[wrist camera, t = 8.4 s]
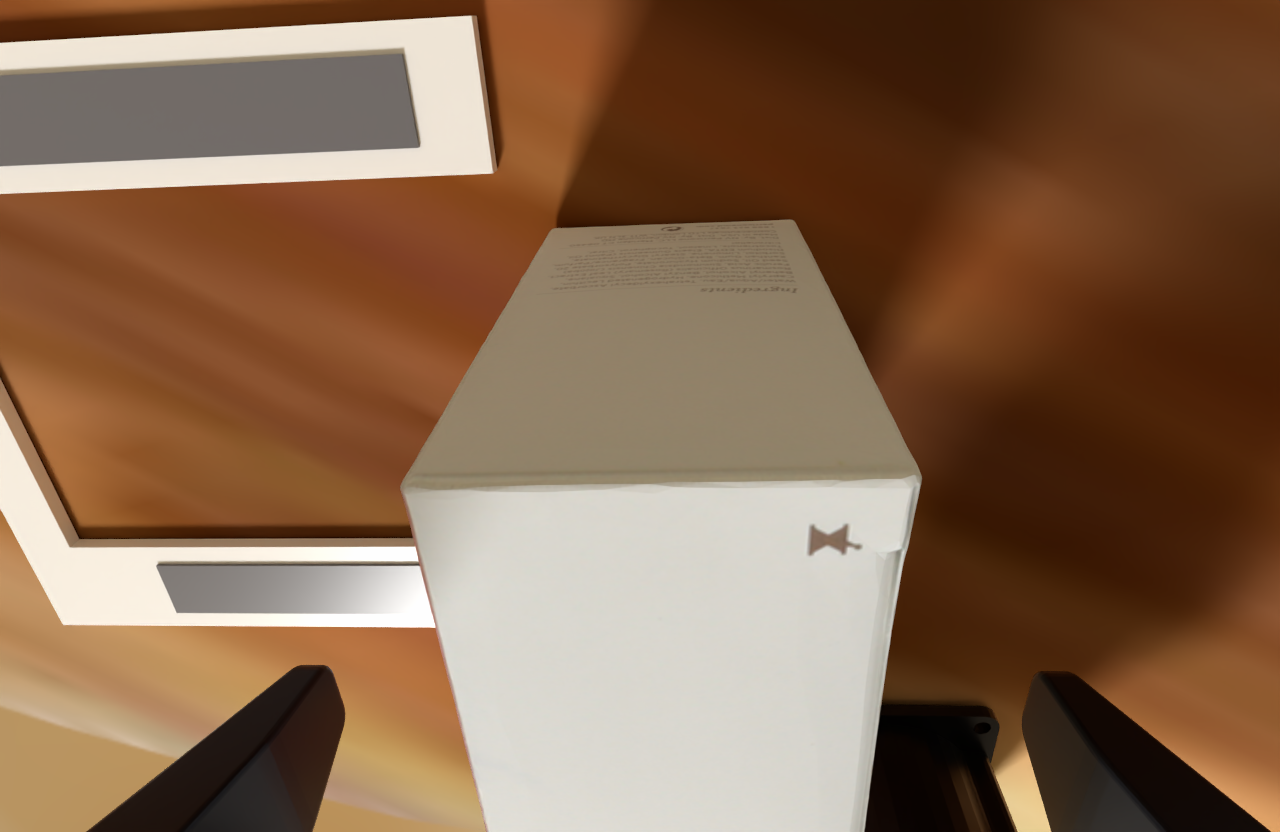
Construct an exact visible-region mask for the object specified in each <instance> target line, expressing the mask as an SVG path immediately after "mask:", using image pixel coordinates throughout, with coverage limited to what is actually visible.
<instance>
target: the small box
mask: <svg viewBox="0 0 1280 832" xmlns="http://www.w3.org/2000/svg"><path fill="white" fill-rule="evenodd" d="M921 481H922V476H921V473H920V471H919V468H918V466H917V464H916V462H915V460H914V458H913V457H912V455H911V453H910V451H909V450H908V448H907V446H906V444H905V442H904V440H903V438H902V436H901V433H900V431H899V429H898V427H897V425H896V423H895V421H894V419H893V417H892V415H891V413H890V412H889V410H888V408H887V406H886V403H885V401H884V399H883V397H882V395H881V393H880V391H879V389H878V387H877V385H876V384H875V382H874V380H873V378H872V376H871V374H870V372H869V370H868V367H867V365H866V363H865V361H864V358H863V356H862V354H861V353H860V351H859V349H858V346H857V344H856V342H855V340H854V338H853V336H852V334H851V332H850V330H849V328H848V326H847V324H846V322H845V320H844V318H843V316H842V313H841V311H840V309H839V307H838V305H837V303H836V301H835V299H834V297H833V295H832V294H831V292H830V289H829V287H828V285H827V283H826V282H825V280H824V278H823V275H822V274H821V272H820V270H819V268H818V265H817V263H816V261H815V260H814V257H813V255H812V253H811V251H810V249H809V247H808V246H807V244H806V242H805V240H804V238H803V236H802V234H801V232H800V230H799V228H798V226H797V224H796V223H795V221H794V220H791V219H789V220H770V221H739V222H712V223H684V224H654V225H629V226H604V227H578V228H555V229H552V230H551V231H550V232H549V234H548V235H547V237H546V239H545V241H544V242H543V244H542V246H541V247H540V249H539V251H538V252H537V254H536V256H535V257H534V259H533V261H532V262H531V264H530V266H529V268H528V270H527V271H526V273H525V274H524V276H523V277H522V279H521V280H520V282H519V284H518V286H517V288H516V290H515V291H514V293H513V295H512V297H511V299H510V300H509V302H508V303H507V305H506V307H505V309H504V310H503V312H502V313H501V315H500V317H499V318H498V320H497V321H496V323H495V325H494V327H493V329H492V330H491V332H490V333H489V335H488V337H487V339H486V341H485V342H484V344H483V345H482V347H481V349H480V350H479V352H478V354H477V356H476V358H475V359H474V361H473V363H472V364H471V366H470V367H469V369H468V371H467V372H466V374H465V376H464V377H463V379H462V381H461V382H460V384H459V386H458V388H457V389H456V391H455V393H454V395H453V396H452V398H451V400H450V402H449V404H448V406H447V407H446V409H445V411H444V413H443V414H442V416H441V418H440V419H439V421H438V423H437V424H436V426H435V428H434V429H433V431H432V433H431V434H430V436H429V437H428V439H427V441H426V442H425V444H424V446H423V447H422V449H421V451H420V453H419V455H418V456H417V458H416V460H415V462H414V464H413V465H412V467H411V468H410V470H409V471H408V473H407V475H406V476H405V478H404V479H403V481H402V484H401V487H400V489H401V493H402V496H403V500H404V503H405V507H406V511H407V514H408V518H409V522H410V526H411V531H412V535H413V539H414V544H415V548H416V552H417V556H418V561H419V565H420V569H421V573H422V577H423V581H424V585H425V589H426V593H427V596H428V600H429V604H430V608H431V612H432V616H433V620H434V624H435V628H436V632H437V636H438V640H439V644H440V648H441V652H442V656H443V660H444V664H445V668H446V672H447V676H448V679H449V683H450V686H451V690H452V694H453V697H454V702H455V706H456V711H457V715H458V719H459V723H460V727H461V731H462V735H463V739H464V743H465V748H466V752H467V756H468V759H469V763H470V767H471V771H472V775H473V779H474V783H475V787H476V791H477V795H478V799H479V803H480V807H481V811H482V815H483V819H484V823H485V828H486V832H864V830H865V822H866V814H867V806H868V799H869V791H870V783H871V776H872V769H873V761H874V753H875V745H876V738H877V730H878V723H879V716H880V709H881V702H882V695H883V688H884V681H885V675H886V668H887V661H888V652H889V647H890V640H891V630H892V626H893V621H894V616H895V610H896V604H897V598H898V592H899V585H900V579H901V573H902V567H903V563H904V559H905V555H906V552H907V548H908V545H909V540H910V535H911V530H912V525H913V520H914V515H915V510H916V505H917V501H918V496H919V491H920V486H921Z"/></svg>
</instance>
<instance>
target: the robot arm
mask: <svg viewBox="0 0 1280 832" xmlns="http://www.w3.org/2000/svg"><path fill="white" fill-rule="evenodd" d="M344 722H345V708H344V704H343V701H342V698H341V695H340V692H339V689H338V686H337V683H336V680H335V677H334V674H333V672H332V670H331V669H330V668H329V667H328V666H325V665H300V666H297V667H295V668H293V669H292V670H290V671H289V672H288V673H286V674H285V675H284V676H283V677H281V678H280V679H279V680H277V681H276V682H275V683H274V684H272V685H271V686H270V687H269V688H267V689H266V690H265V691H264V692H262V693H261V694H260V695H259V696H257V697H256V698H255V699H253V700H252V701H251V702H250V703H248V704H247V705H246V706H245V707H243V708H242V709H241V710H240V711H238V712H237V713H236V714H234V715H233V716H232V717H231V718H229V719H228V720H227V721H226V722H224V723H223V724H222V725H221V726H219V727H218V728H217V729H216V730H214V731H213V732H212V733H210V734H209V735H208V736H207V737H205V738H204V739H203V740H202V741H200V742H199V743H198V744H197V745H195V746H194V747H193V748H192V749H190V750H189V751H188V752H186V753H185V754H184V755H183V756H181V757H180V758H179V759H178V760H176V761H175V762H174V763H173V764H171V765H170V766H169V767H167V768H166V769H165V770H164V771H163V772H161V773H160V774H159V775H157V776H156V777H155V778H154V779H152V780H151V781H150V782H149V783H147V784H146V785H145V786H144V787H142V788H141V789H140V790H138V791H137V792H136V793H135V794H133V795H132V796H131V797H130V798H128V799H127V800H126V801H125V802H123V803H122V804H121V805H119V806H118V807H117V808H116V809H114V810H113V811H112V812H111V813H109V814H108V815H107V816H106V817H104V818H103V819H102V820H101V821H99V822H98V823H97V824H95V825H94V826H93V827H92V828H91V829H89V830H88V831H87V832H313V828H314V826H315V822H316V819H317V816H318V813H319V809H320V805H321V802H322V799H323V795H324V792H325V789H326V785H327V782H328V778H329V775H330V772H331V768H332V765H333V761H334V758H335V755H336V751H337V748H338V744H339V741H340V738H341V734H342V731H343V727H344ZM1022 730H1023V736H1024V740H1025V743H1026V746H1027V750H1028V753H1029V757H1030V760H1031V763H1032V767H1033V770H1034V774H1035V777H1036V780H1037V784H1038V787H1039V791H1040V794H1041V797H1042V801H1043V804H1044V808H1045V811H1046V814H1047V818H1048V821H1049V825H1050V828H1051V832H1271V831H1270V830H1268V829H1267V828H1266V827H1265V826H1263V825H1262V824H1261V823H1260V822H1258V821H1257V820H1256V819H1255V818H1253V817H1252V816H1251V815H1250V814H1248V813H1247V812H1246V811H1245V810H1243V809H1242V808H1241V807H1240V806H1238V805H1237V804H1236V803H1235V802H1234V801H1232V800H1231V799H1230V798H1229V797H1227V796H1226V795H1225V794H1224V793H1222V792H1221V791H1220V790H1219V789H1217V788H1216V787H1215V786H1214V785H1212V784H1211V783H1210V782H1209V781H1207V780H1206V779H1205V778H1204V777H1202V776H1201V775H1200V774H1199V773H1198V772H1196V771H1195V770H1194V769H1193V768H1191V767H1190V766H1189V765H1188V764H1186V763H1185V762H1184V761H1183V760H1181V759H1180V758H1179V757H1178V756H1176V755H1175V754H1174V753H1173V752H1171V751H1170V750H1169V749H1168V748H1166V747H1165V746H1164V745H1163V744H1161V743H1160V742H1159V741H1158V740H1157V739H1155V738H1154V737H1153V736H1152V735H1150V734H1149V733H1148V732H1147V731H1145V730H1144V729H1143V728H1142V727H1140V726H1139V725H1138V724H1137V723H1135V722H1134V721H1133V720H1132V719H1130V718H1129V717H1128V716H1127V715H1125V714H1124V713H1123V712H1122V711H1121V710H1119V709H1118V708H1117V707H1116V706H1114V705H1113V704H1112V703H1111V702H1109V701H1108V700H1107V699H1106V698H1104V697H1103V696H1102V695H1101V694H1099V693H1098V692H1097V691H1096V690H1094V689H1093V688H1092V687H1091V686H1089V685H1088V684H1087V683H1086V682H1085V681H1083V680H1082V679H1081V678H1080V677H1078V676H1077V675H1075V674H1073V673H1071V672H1065V671H1041V672H1038V673H1036V674H1035V675H1034V677H1033V679H1032V682H1031V686H1030V690H1029V693H1028V697H1027V701H1026V704H1025V708H1024V712H1023V716H1022ZM998 732H999V723H998V720H997V718H996V716H995V713H994V712H993V711H992V709H990V708H988V707H984V706H947V705H881V709H880V716H879V723H878V730H877V738H876V745H875V753H874V761H873V769H872V776H871V783H870V791H869V799H868V806H867V814H866V822H865V830H864V832H1017V829H1016V827H1015V824H1014V822H1013V819H1012V817H1011V814H1010V812H1009V809H1008V807H1007V804H1006V802H1005V799H1004V796H1003V794H1002V791H1001V789H1000V786H999V784H998V781H997V779H996V776H995V774H994V771H993V769H992V766H991V760H992V756H993V752H994V748H995V744H996V740H997V736H998Z"/></svg>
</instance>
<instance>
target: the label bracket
mask: <svg viewBox="0 0 1280 832" xmlns="http://www.w3.org/2000/svg"><path fill="white" fill-rule="evenodd" d="M495 171H497V164H496V157H495V149H494V142H493V134H492V127H491V119H490V112H489V104H488V97H487V90H486V82H485V75H484V67H483V60H482V52H481V45H480V37H479V30H478V22H477V16H457V17H440V18H422V19H405V20H388V21H371V22H353V23H336V24H319V25H302V26H284V27H267V28H250V29H233V30H215V31H198V32H181V33H164V34H147V35H129V36H112V37H95V38H78V39H60V40H43V41H26V42H9V43H0V194H7V193H31V192H55V191H80V190H104V189H128V188H152V187H176V186H200V185H225V184H249V183H273V182H297V181H321V180H346V179H370V178H394V177H418V176H442V175H466V174H491V173H494V172H495ZM0 509H1V511H2V512H3V514H4V516H5V518H6V520H7V522H8V524H9V525H10V527H11V529H12V531H13V533H14V535H15V537H16V538H17V540H18V542H19V544H20V546H21V548H22V550H23V551H24V553H25V555H26V557H27V559H28V561H29V562H30V564H31V566H32V568H33V570H34V572H35V574H36V575H37V577H38V579H39V581H40V583H41V585H42V587H43V588H44V590H45V592H46V594H47V596H48V598H49V600H50V601H51V603H52V605H53V607H54V609H55V611H56V612H57V614H58V616H59V618H60V620H61V622H62V624H63V625H157V626H320V627H435V624H434V620H433V616H432V612H431V608H430V604H429V600H428V596H427V593H426V589H425V585H424V581H423V577H422V573H421V569H420V565H419V561H418V556H417V552H416V548H415V544H414V539H413V538H286V539H79V537H78V535H77V533H76V531H75V529H74V527H73V525H72V523H71V521H70V519H69V517H68V515H67V513H66V511H65V509H64V507H63V505H62V503H61V501H60V499H59V497H58V495H57V493H56V491H55V489H54V487H53V484H52V482H51V480H50V478H49V476H48V474H47V472H46V470H45V468H44V466H43V464H42V462H41V460H40V458H39V456H38V454H37V452H36V450H35V448H34V446H33V444H32V442H31V440H30V438H29V436H28V434H27V432H26V430H25V428H24V426H23V424H22V421H21V419H20V417H19V415H18V413H17V411H16V409H15V407H14V405H13V403H12V401H11V399H10V397H9V395H8V393H7V391H6V389H5V387H4V385H3V383H2V381H1V379H0Z"/></svg>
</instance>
